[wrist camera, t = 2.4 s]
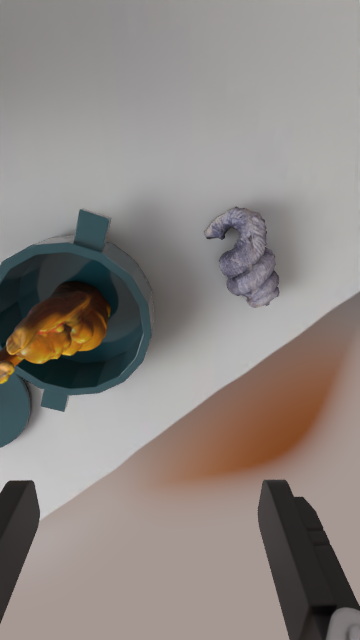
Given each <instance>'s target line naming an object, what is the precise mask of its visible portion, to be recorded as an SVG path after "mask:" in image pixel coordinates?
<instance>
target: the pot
mask: <svg viewBox="0 0 360 640" xmlns="http://www.w3.org/2000/svg"><path fill="white" fill-rule="evenodd" d="M110 222H111V218H110V217H107V216H104V215H101V214H98V213H95V212H92V211H89V210H86V209H80V212H79V217H78V222H77V227H76V232H75V235H69V236H61V237H52V238H50V239H47V240H44V241H42V242H39V243H36V244H34V245H31V246H29V247H27V248H26V249H24V250H22V251H20V252H18V253H17V254H15V255H13V256H11V257H10V258H8V259H6V260H4V261H3V262H2V263H1V265H0V351H1V350H2V348H3V347H4V346H5V345H6V341H7V339H8V338H9V337H10V335H11V334H12V333H13V332H14V329H15V327H16V326H17V325H18V324H19V323H20V322H21V321H22V320H23V319H24V318H25V317H26V316H27V315H28V313H29V311H30V310H31V309H32V307H33V306H35V305H37V304H38V303H40V302H42V301H43V300H45V299H47V298H49V297H50V296H51V295H52V294H53V292H54V290H55V289H56V288H57V287H58V286H59V285H60V284H62V283H65V282H69V281H80V282H84V283H86V284H89V285H92V286H94V287H96V288H97V289H98V290H99V291H100V292H101V294H102V295H103V296H104V298H105V300H106V301H107V302H108V303H109V304H110V306H111V312H110V317H108V324H107V330H106V336H105V337H104V338H103V340H102V342H101V343H100V345H99V346H97V347H96V348H94V349H91V350H88V351H77V352H76V353H75V354H73V355H71V356H68V355H63V354H61V356H60V357H59V358H58V359H49V360H48V361H46V362H45V363H42V364H37V363H32V362H29V361H28V360H26V359H23V360H22V361H21V362H19V363H18V364H17V365H16V366H15V367H14V368H15V371H14V373H16V374H17V375H19V376H21V377H22V378H24V379H25V380H27V381H29V382H30V383H32V384H34V385H35V386H37V387H38V388H41V389H44V392H43V397H42V402H41V406H42V407H46V408H50V409H54V410H59V411H63V412H64V411H65V409H66V407H67V404H68V400H69V395H82V394H94V393H100V392H103V391H105V390H107V389H109V388H111V387H114V386H116V385H118V384H120V383H122V382H124V381H125V380H126V379H127V378H128V377H129V376H130V375H131V374H132V373H133V372H134V371H135V370H136V369H137V367H138V366H139V365H140V364H141V363H142V362H143V360H144V357H145V354H146V351H147V348H148V345H149V342H150V339H151V336H152V329H153V321H154V307H153V297H152V290H151V287H150V285H149V283H148V281H147V279H146V277H145V275H144V273H143V272H142V270H141V269H140V267H139V266H138V264H137V263H136V262H135V261H134V260H133V259H132V258H131V257H129V256H128V255H127V254H126V253H125V252H123V251H122V250H121V249H119V248H118V247H116V246H115V245H113V244H111V243H109V242H106V239H107V235H108V231H109V226H110Z"/></svg>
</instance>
